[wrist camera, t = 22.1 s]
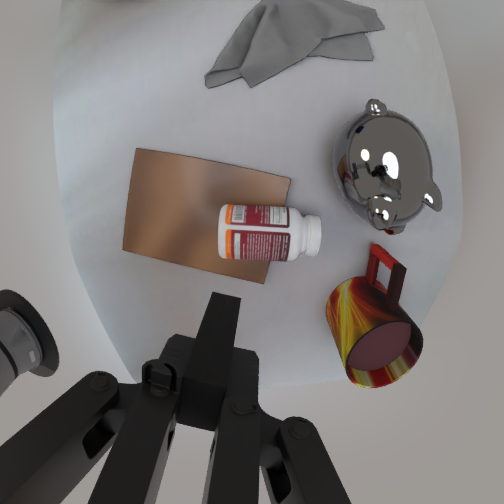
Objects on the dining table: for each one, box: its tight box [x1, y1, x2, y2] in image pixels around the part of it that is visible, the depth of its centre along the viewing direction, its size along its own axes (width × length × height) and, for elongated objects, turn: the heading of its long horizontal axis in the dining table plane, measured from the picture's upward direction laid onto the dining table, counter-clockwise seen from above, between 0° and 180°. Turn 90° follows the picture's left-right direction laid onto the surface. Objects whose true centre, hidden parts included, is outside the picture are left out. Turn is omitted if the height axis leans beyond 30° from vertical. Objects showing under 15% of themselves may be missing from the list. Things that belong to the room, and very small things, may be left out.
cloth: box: [205, 0, 384, 88], centre depth 27 cm, size 26×14×2 cm, turn 107°
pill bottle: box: [218, 204, 322, 261], centre depth 33 cm, size 6×6×11 cm
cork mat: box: [122, 148, 291, 284], centre depth 36 cm, size 20×14×1 cm
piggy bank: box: [332, 99, 442, 235], centre depth 28 cm, size 11×15×12 cm
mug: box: [326, 244, 423, 388], centre depth 33 cm, size 10×14×12 cm
